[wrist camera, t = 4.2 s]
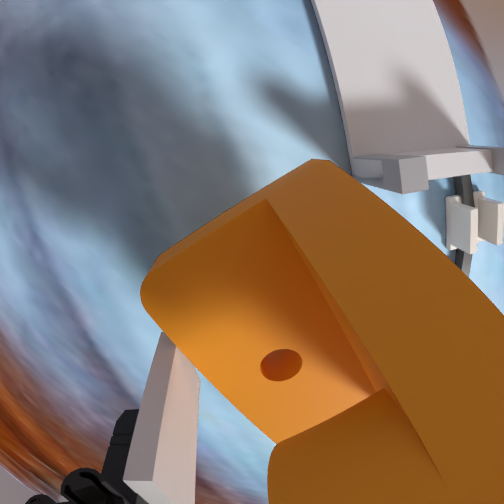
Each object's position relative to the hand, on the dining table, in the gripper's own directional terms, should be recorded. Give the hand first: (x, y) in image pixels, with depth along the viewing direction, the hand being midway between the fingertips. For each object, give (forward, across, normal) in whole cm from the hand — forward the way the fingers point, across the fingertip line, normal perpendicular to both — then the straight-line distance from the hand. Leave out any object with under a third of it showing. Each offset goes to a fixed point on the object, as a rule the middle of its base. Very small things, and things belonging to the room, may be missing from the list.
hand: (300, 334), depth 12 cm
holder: (+6, +10, +13) cm, 17 cm away
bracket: (+2, 0, 0) cm, 2 cm away
